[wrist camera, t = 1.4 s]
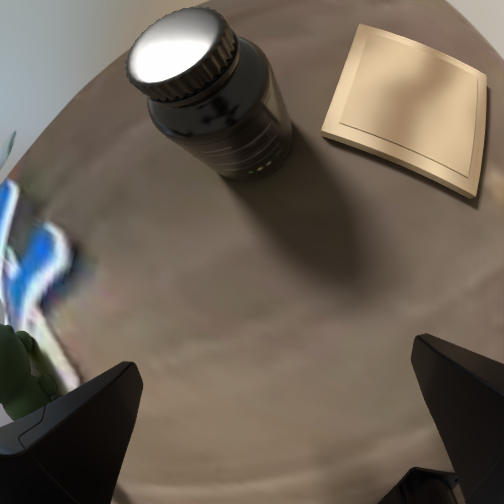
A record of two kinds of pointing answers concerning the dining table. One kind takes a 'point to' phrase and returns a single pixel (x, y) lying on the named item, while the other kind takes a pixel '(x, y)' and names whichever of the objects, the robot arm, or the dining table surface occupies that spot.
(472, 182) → the coaster
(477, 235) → the dining table surface
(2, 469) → the robot arm
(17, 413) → the toy figurine
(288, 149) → the supplement bottle
